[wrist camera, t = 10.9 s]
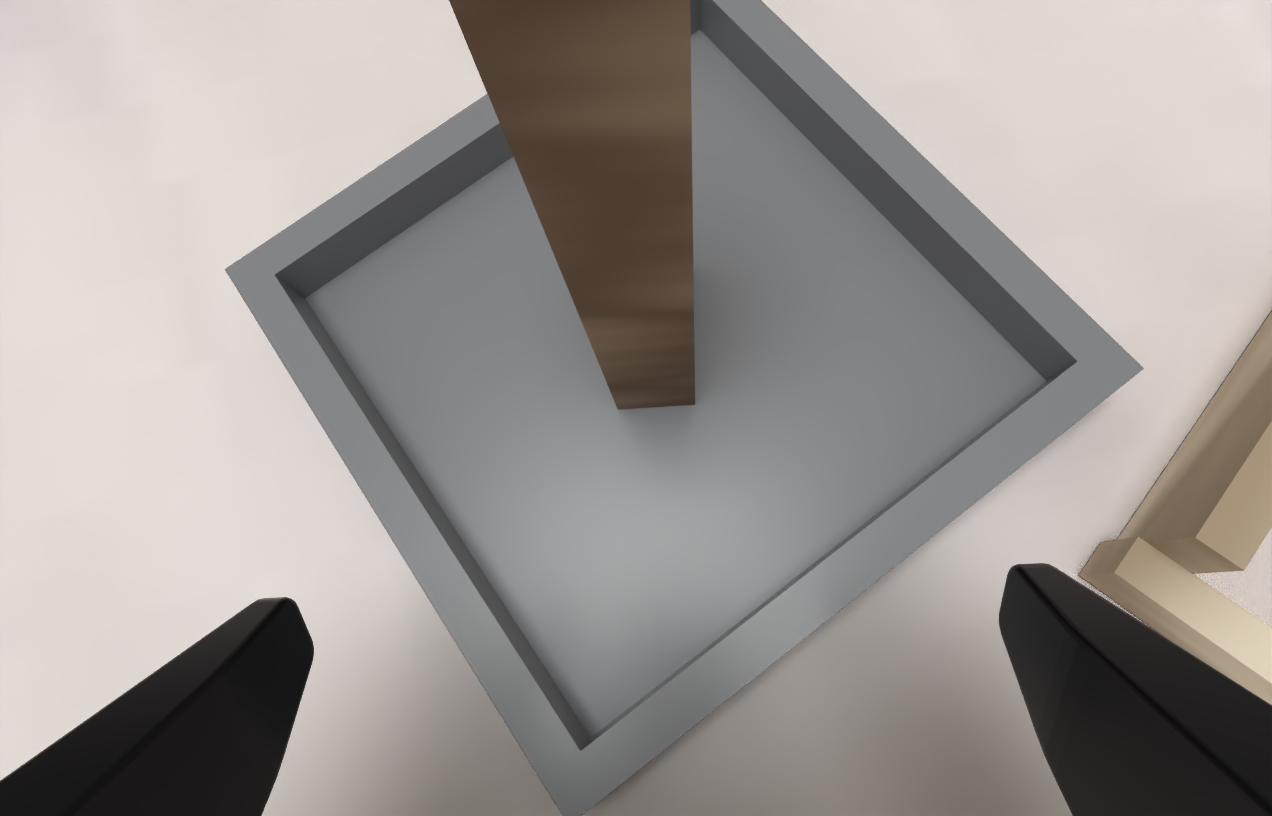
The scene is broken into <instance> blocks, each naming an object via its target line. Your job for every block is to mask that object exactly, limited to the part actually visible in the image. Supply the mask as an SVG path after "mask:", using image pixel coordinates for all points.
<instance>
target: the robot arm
mask: <svg viewBox="0 0 1272 816" xmlns="http://www.w3.org/2000/svg"><path fill="white" fill-rule="evenodd" d="M999 626H1000V631H1001V635H1002V638H1003V641H1004V643H1005V646H1006V649H1007V652H1008V655H1009V658H1010V660H1011V663H1012V666H1013V669H1014V672H1015V675H1016V677H1017V680H1018V683H1019V686H1020V689H1021V692H1022V694H1023V697H1024V700H1025V703H1026V706H1027V709H1028V712H1029V714H1030V717H1031V720H1032V723H1033V726H1034V729H1035V731H1036V734H1037V737H1038V739H1039V742H1040V745H1041V747H1042V750H1043V753H1044V755H1045V757H1046V760H1047V762H1048V764H1049V766H1050V768H1051V771H1052V773H1053V775H1054V777H1055V779H1056V781H1057V784H1058V786H1059V788H1060V790H1061V792H1062V794H1063V796H1064V798H1065V800H1066V802H1067V805H1068V807H1069V809H1070V811H1071V813H1072V815H1073V816H1272V705H1271V704H1270V703H1268V702H1266V701H1265V700H1263V699H1262V698H1260V697H1258V696H1257V695H1255V694H1254V693H1252V692H1251V691H1249V690H1247V689H1246V688H1244V687H1243V686H1241V685H1240V684H1238V683H1236V682H1235V681H1233V680H1232V679H1230V678H1229V677H1227V676H1225V675H1224V674H1222V673H1221V672H1219V671H1217V670H1216V669H1214V668H1213V667H1211V666H1210V665H1208V664H1206V663H1205V662H1203V661H1202V660H1200V659H1199V658H1197V657H1195V656H1194V655H1192V654H1191V653H1189V652H1188V651H1186V650H1184V649H1183V648H1181V647H1180V646H1178V645H1177V644H1175V643H1173V642H1172V641H1170V640H1169V639H1167V638H1165V637H1164V636H1162V635H1161V634H1159V633H1158V632H1156V631H1154V630H1153V629H1151V628H1150V627H1148V626H1147V625H1145V624H1143V623H1142V622H1140V621H1139V620H1137V619H1136V618H1134V617H1132V616H1131V615H1129V614H1128V613H1126V612H1125V611H1123V610H1121V609H1120V608H1118V607H1117V606H1115V605H1113V604H1112V603H1110V602H1109V601H1107V600H1106V599H1104V598H1102V597H1101V596H1099V595H1098V594H1096V593H1095V592H1093V591H1091V590H1090V589H1088V588H1087V587H1085V586H1084V585H1082V584H1080V583H1079V582H1077V581H1076V580H1074V579H1073V578H1071V577H1069V576H1068V575H1066V574H1065V573H1063V572H1061V571H1060V570H1058V569H1057V568H1055V567H1053V566H1051V565H1049V564H1044V563H1038V564H1018V565H1015V566H1013V567H1011V569H1010V570H1009V572H1008V575H1007V579H1006V584H1005V588H1004V593H1003V598H1002V602H1001V607H1000V612H999ZM313 655H314V646H313V641H312V638H311V636H310V634H309V631H308V629H307V627H306V624H305V622H304V620H303V617H302V615H301V613H300V610H299V608H298V606H297V604H296V602H295V601H293V600H292V599H291V598H287V597H281V598H263V599H259V600H257V601H255V602H253V603H252V604H250V605H249V606H248V607H246V608H245V609H243V610H242V611H240V612H239V613H238V614H236V615H235V616H233V617H232V618H231V619H229V620H228V621H226V622H225V623H223V624H222V625H221V626H219V627H218V628H216V629H215V630H214V631H212V632H211V633H209V634H208V635H206V636H205V637H204V638H202V639H201V640H199V641H198V642H197V643H195V644H194V645H192V646H191V647H189V648H188V649H187V650H185V651H184V652H182V653H181V654H179V655H178V656H177V657H175V658H174V659H172V660H171V661H170V662H168V663H167V664H165V665H164V666H162V667H161V668H160V669H158V670H157V671H155V672H154V673H153V674H151V675H150V676H148V677H147V678H145V679H144V680H143V681H141V682H140V683H138V684H137V685H135V686H134V687H133V688H131V689H130V690H128V691H127V692H126V693H124V694H123V695H121V696H120V697H118V698H117V699H116V700H114V701H113V702H111V703H110V704H108V705H107V706H106V707H104V708H103V709H101V710H100V711H99V712H97V713H96V714H94V715H93V716H91V717H90V718H89V719H87V720H86V721H84V722H83V723H82V724H80V725H79V726H77V727H76V728H74V729H73V730H72V731H70V732H69V733H67V734H66V735H64V736H63V737H62V738H60V739H59V740H57V741H56V742H55V743H53V744H52V745H50V746H49V747H47V748H46V749H45V750H43V751H42V752H40V753H39V754H38V755H36V756H35V757H33V758H32V759H30V760H29V761H28V762H26V763H25V764H23V765H22V766H20V767H19V768H18V769H16V770H15V771H13V772H12V773H11V774H9V775H8V776H6V777H5V778H3V779H2V780H1V781H0V816H261V815H262V813H263V810H264V808H265V805H266V803H267V801H268V798H269V796H270V793H271V791H272V788H273V785H274V783H275V780H276V778H277V775H278V772H279V769H280V766H281V763H282V760H283V757H284V754H285V751H286V748H287V744H288V741H289V738H290V734H291V731H292V728H293V724H294V721H295V718H296V714H297V711H298V708H299V705H300V701H301V698H302V695H303V691H304V688H305V685H306V681H307V678H308V675H309V671H310V668H311V665H312V661H313Z"/></svg>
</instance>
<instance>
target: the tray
mask: <svg viewBox="0 0 1272 816" xmlns="http://www.w3.org/2000/svg"><path fill="white" fill-rule="evenodd" d="M690 33H691V111H692V190H693V269H694V348H695V405H684V406H668V407H652V408H636V409H620V410H618V409H617V407H616V404H615V402H614V399H613V397H612V394H611V392H610V390H609V387H608V385H607V382H606V380H605V377H604V375H603V373H602V370H601V368H600V365H599V363H598V360H597V358H596V356H595V353H594V351H593V348H592V346H591V343H590V341H589V339H588V336H587V334H586V331H585V329H584V326H583V324H582V322H581V319H580V317H579V314H578V312H577V309H576V307H575V305H574V302H573V300H572V297H571V295H570V292H569V290H568V288H567V285H566V283H565V280H564V278H563V275H562V273H561V271H560V268H559V266H558V263H557V261H556V258H555V256H554V254H553V251H552V249H551V246H550V244H549V241H548V239H547V237H546V234H545V232H544V229H543V227H542V224H541V222H540V220H539V217H538V215H537V212H536V210H535V207H534V205H533V203H532V200H531V198H530V195H529V193H528V190H527V188H526V186H525V183H524V181H523V178H522V176H521V173H520V171H519V169H518V166H517V164H516V161H515V159H514V156H513V154H512V152H511V149H510V147H509V144H508V142H507V139H506V137H505V135H504V132H503V130H502V127H501V125H500V122H499V120H498V118H497V115H496V113H495V110H494V108H493V105H492V103H491V101H490V98H489V96H488V94H486V95H485V96H483V97H482V98H480V99H479V100H477V101H476V102H474V103H473V104H471V105H470V106H468V107H467V108H465V109H464V110H462V111H461V112H459V113H458V114H456V115H455V116H453V117H452V118H450V119H449V120H447V121H446V122H444V123H443V124H441V125H440V126H439V127H437V128H436V129H434V130H433V131H431V132H430V133H428V134H427V135H425V136H424V137H422V138H421V139H419V140H418V141H416V142H415V143H413V144H412V145H410V146H409V147H407V148H406V149H404V150H403V151H401V152H400V153H398V154H397V155H395V156H394V157H392V158H391V159H389V160H388V161H386V162H385V163H383V164H382V165H380V166H379V167H377V168H376V169H374V170H373V171H371V172H370V173H368V174H367V175H365V176H364V177H362V178H361V179H359V180H358V181H356V182H355V183H353V184H352V185H350V186H349V187H347V188H346V189H344V190H343V191H341V192H340V193H338V194H337V195H335V196H334V197H332V198H331V199H329V200H328V201H326V202H325V203H323V204H322V205H320V206H319V207H317V208H316V209H314V210H313V211H311V212H310V213H308V214H307V215H305V216H304V217H302V218H301V219H299V220H298V221H296V222H295V223H293V224H292V225H290V226H289V227H287V228H286V229H284V230H283V231H281V232H280V233H278V234H277V235H275V236H274V237H272V238H271V239H269V240H268V241H266V242H265V243H263V244H262V245H260V246H259V247H257V248H256V249H254V250H253V251H251V252H250V253H248V254H247V255H245V256H244V257H242V258H241V259H239V260H238V261H236V262H235V263H233V264H232V265H230V266H229V267H227V268H226V269H225V271H226V272H227V274H228V275H229V277H230V279H231V280H232V282H233V283H234V285H235V287H236V288H237V290H238V292H239V293H240V295H241V296H242V298H243V300H244V301H245V303H246V304H247V306H248V308H249V309H250V311H251V313H252V314H253V316H254V317H255V319H256V321H257V322H258V324H259V325H260V327H261V329H262V330H263V332H264V334H265V335H266V337H267V338H268V340H269V342H270V343H271V345H272V347H273V348H274V350H275V351H276V353H277V355H278V356H279V358H280V359H281V361H282V363H283V364H284V366H285V368H286V369H287V371H288V372H289V374H290V376H291V377H292V379H293V380H294V382H295V384H296V385H297V387H298V389H299V390H300V392H301V393H302V395H303V397H304V398H305V400H306V402H307V403H308V405H309V406H310V408H311V410H312V411H313V413H314V414H315V416H316V418H317V419H318V421H319V423H320V424H321V426H322V427H323V429H324V431H325V432H326V434H327V435H328V437H329V439H330V440H331V442H332V444H333V445H334V447H335V448H336V450H337V452H338V453H339V455H340V456H341V458H342V460H343V461H344V463H345V465H346V466H347V468H348V469H349V471H350V473H351V474H352V476H353V478H354V479H355V481H356V482H357V484H358V486H359V487H360V489H361V490H362V492H363V494H364V495H365V497H366V499H367V500H368V502H369V503H370V505H371V507H372V508H373V510H374V511H375V513H376V515H377V516H378V518H379V520H380V521H381V523H382V524H383V526H384V528H385V529H386V531H387V533H388V534H389V536H390V537H391V539H392V541H393V542H394V544H395V545H396V547H397V549H398V550H399V552H400V554H401V555H402V557H403V558H404V560H405V562H406V563H407V565H408V566H409V568H410V570H411V571H412V573H413V575H414V576H415V578H416V579H417V581H418V583H419V584H420V586H421V587H422V589H423V591H424V592H425V594H426V596H427V597H428V599H429V600H430V602H431V604H432V605H433V607H434V609H435V610H436V612H437V613H438V615H439V617H440V618H441V620H442V621H443V623H444V625H445V626H446V628H447V630H448V631H449V633H450V634H451V636H452V638H453V639H454V641H455V642H456V644H457V646H458V647H459V649H460V651H461V652H462V654H463V655H464V657H465V659H466V660H467V662H468V663H469V665H470V667H471V668H472V670H473V672H474V673H475V675H476V676H477V678H478V680H479V681H480V683H481V685H482V686H483V688H484V689H485V691H486V693H487V694H488V696H489V697H490V699H491V701H492V702H493V704H494V706H495V707H496V709H497V710H498V712H499V714H500V715H501V717H502V718H503V720H504V722H505V723H506V725H507V727H508V728H509V730H510V731H511V733H512V735H513V736H514V738H515V740H516V741H517V743H518V744H519V746H520V748H521V749H522V751H523V752H524V754H525V756H526V757H527V759H528V761H529V762H530V764H531V765H532V767H533V769H534V770H535V772H536V773H537V775H538V777H539V778H540V780H541V782H542V783H543V785H544V786H545V788H546V790H547V791H548V793H549V794H550V796H551V798H552V799H553V801H554V803H555V804H556V806H557V807H558V809H559V811H560V812H561V814H562V816H582V815H583V814H584V813H586V812H587V811H588V810H589V809H591V808H592V807H593V806H594V805H596V804H597V803H598V802H599V801H601V800H602V799H603V798H604V797H606V796H607V795H608V794H609V793H611V792H612V791H613V790H615V789H616V788H617V787H618V786H620V785H621V784H622V783H623V782H625V781H626V780H627V779H628V778H630V777H631V776H632V775H633V774H635V773H636V772H637V771H638V770H640V769H641V768H642V767H643V766H645V765H646V764H647V763H648V762H650V761H651V760H652V759H654V758H655V757H656V756H657V755H659V754H660V753H661V752H662V751H664V750H665V749H666V748H667V747H669V746H670V745H671V744H672V743H674V742H675V741H676V740H677V739H679V738H680V737H681V736H682V735H684V734H685V733H686V732H687V731H689V730H690V729H691V728H693V727H694V726H695V725H696V724H698V723H699V722H700V721H701V720H703V719H704V718H705V717H706V716H708V715H709V714H710V713H711V712H713V711H714V710H715V709H716V708H718V707H719V706H720V705H721V704H723V703H724V702H725V701H726V700H728V699H729V698H730V697H731V696H733V695H734V694H735V693H737V692H738V691H739V690H740V689H742V688H743V687H744V686H745V685H747V684H748V683H749V682H750V681H752V680H753V679H754V678H755V677H757V676H758V675H759V674H760V673H762V672H763V671H764V670H765V669H767V668H768V667H769V666H770V665H772V664H773V663H774V662H776V661H777V660H778V659H779V658H781V657H782V656H783V655H784V654H786V653H787V652H788V651H789V650H791V649H792V648H793V647H794V646H796V645H797V644H798V643H799V642H801V641H802V640H803V639H804V638H806V637H807V636H808V635H809V634H811V633H812V632H813V631H815V630H816V629H817V628H818V627H820V626H821V625H822V624H823V623H825V622H826V621H827V620H828V619H830V618H831V617H832V616H833V615H835V614H836V613H837V612H838V611H840V610H841V609H842V608H843V607H845V606H846V605H847V604H848V603H850V602H851V601H852V600H854V599H855V598H856V597H857V596H859V595H860V594H861V593H862V592H864V591H865V590H866V589H867V588H869V587H870V586H871V585H872V584H874V583H875V582H876V581H877V580H879V579H880V578H881V577H882V576H884V575H885V574H886V573H887V572H889V571H890V570H891V569H893V568H894V567H895V566H896V565H898V564H899V563H900V562H901V561H903V560H904V559H905V558H906V557H908V556H909V555H910V554H911V553H913V552H914V551H915V550H916V549H918V548H919V547H920V546H921V545H923V544H924V543H925V542H926V541H928V540H929V539H930V538H931V537H933V536H934V535H935V534H937V533H938V532H939V531H940V530H942V529H943V528H944V527H945V526H947V525H948V524H949V523H950V522H952V521H953V520H954V519H955V518H957V517H958V516H959V515H960V514H962V513H963V512H964V511H965V510H967V509H968V508H969V507H970V506H972V505H973V504H974V503H976V502H977V501H978V500H979V499H981V498H982V497H983V496H984V495H986V494H987V493H988V492H989V491H991V490H992V489H993V488H994V487H996V486H997V485H998V484H999V483H1001V482H1002V481H1003V480H1004V479H1006V478H1007V477H1008V476H1009V475H1011V474H1012V473H1013V472H1015V471H1016V470H1017V469H1018V468H1020V467H1021V466H1022V465H1023V464H1025V463H1026V462H1027V461H1028V460H1030V459H1031V458H1032V457H1033V456H1035V455H1036V454H1037V453H1038V452H1040V451H1041V450H1042V449H1043V448H1045V447H1046V446H1047V445H1048V444H1050V443H1051V442H1052V441H1054V440H1055V439H1056V438H1057V437H1059V436H1060V435H1061V434H1062V433H1064V432H1065V431H1066V430H1067V429H1069V428H1070V427H1071V426H1072V425H1074V424H1075V423H1076V422H1077V421H1079V420H1080V419H1081V418H1082V417H1084V416H1085V415H1086V414H1087V413H1089V412H1090V411H1091V410H1093V409H1094V408H1095V407H1096V406H1098V405H1099V404H1100V403H1101V402H1103V401H1104V400H1105V399H1106V398H1108V397H1109V396H1110V395H1111V394H1113V393H1114V392H1115V391H1116V390H1118V389H1119V388H1120V387H1121V386H1123V385H1124V384H1125V383H1126V382H1128V381H1129V380H1130V379H1131V378H1133V377H1134V376H1135V375H1137V374H1138V373H1139V372H1140V371H1142V370H1143V369H1144V368H1143V367H1142V366H1141V365H1140V364H1139V363H1138V362H1137V361H1136V360H1135V359H1134V358H1133V357H1131V356H1130V355H1129V354H1128V353H1127V352H1126V351H1125V350H1124V349H1123V348H1122V347H1121V346H1120V345H1119V344H1118V343H1117V342H1116V341H1115V340H1114V339H1113V338H1112V337H1111V336H1110V335H1109V334H1108V333H1107V332H1105V331H1104V330H1103V329H1102V328H1101V327H1100V326H1099V325H1098V324H1097V323H1096V322H1095V321H1094V320H1093V319H1092V318H1091V317H1090V316H1089V315H1088V314H1087V313H1086V312H1085V311H1084V310H1083V309H1082V308H1081V307H1079V306H1078V305H1077V304H1076V303H1075V302H1074V301H1073V300H1072V299H1071V298H1070V297H1069V296H1068V295H1067V294H1066V293H1065V292H1064V291H1063V290H1062V289H1061V288H1060V287H1059V286H1058V285H1057V284H1056V283H1055V282H1053V281H1052V280H1051V279H1050V278H1049V277H1048V276H1047V275H1046V274H1045V273H1044V272H1043V271H1042V270H1041V269H1040V268H1039V267H1038V266H1037V265H1036V264H1035V263H1034V262H1033V261H1032V260H1031V259H1030V258H1029V257H1027V256H1026V255H1025V254H1024V253H1023V252H1022V251H1021V250H1020V249H1019V248H1018V247H1017V246H1016V245H1015V244H1014V243H1013V242H1012V241H1011V240H1010V239H1009V238H1008V237H1007V236H1006V235H1005V234H1004V233H1003V232H1001V231H1000V230H999V229H998V228H997V227H996V226H995V225H994V224H993V223H992V222H991V221H990V220H989V219H988V218H987V217H986V216H985V215H984V214H983V213H982V212H981V211H980V210H979V209H978V208H977V207H975V206H974V205H973V204H972V203H971V202H970V201H969V200H968V199H967V198H966V197H965V196H964V195H963V194H962V193H961V192H960V191H959V190H958V189H957V188H956V187H955V186H954V185H953V184H952V183H950V182H949V181H948V180H947V179H946V178H945V177H944V176H943V175H942V174H941V173H940V172H939V171H938V170H937V169H936V168H935V167H934V166H933V165H932V164H931V163H930V162H929V161H928V160H927V159H926V158H924V157H923V156H922V155H921V154H920V153H919V152H918V151H917V150H916V149H915V148H914V147H913V146H912V145H911V144H910V143H909V142H908V141H907V140H906V139H905V138H904V137H903V136H902V135H901V134H900V133H898V132H897V131H896V130H895V129H894V128H893V127H892V126H891V125H890V124H889V123H888V122H887V121H886V120H885V119H884V118H883V117H882V116H881V115H880V114H879V113H878V112H877V111H876V110H875V109H874V108H872V107H871V106H870V105H869V104H868V103H867V102H866V101H865V100H864V99H863V98H862V97H861V96H860V95H859V94H858V93H857V92H856V91H855V90H854V89H853V88H852V87H851V86H850V85H849V84H848V83H846V82H845V81H844V80H843V79H842V78H841V77H840V76H839V75H838V74H837V73H836V72H835V71H834V70H833V69H832V68H831V67H830V66H829V65H828V64H827V63H826V62H825V61H824V60H823V59H822V58H820V57H819V56H818V55H817V54H816V53H815V52H814V51H813V50H812V49H811V48H810V47H809V46H808V45H807V44H806V43H805V42H804V41H803V40H802V39H801V38H800V37H799V36H798V35H797V34H796V33H794V32H793V31H792V30H791V29H790V28H789V27H788V26H787V25H786V24H785V23H784V22H783V21H782V20H781V19H780V18H779V17H778V16H777V15H776V14H775V13H774V12H773V11H772V10H771V9H769V8H768V7H767V6H766V5H765V4H764V3H763V2H762V1H761V0H690Z"/></svg>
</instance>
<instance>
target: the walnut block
mask: <svg viewBox="0 0 1272 816" xmlns="http://www.w3.org/2000/svg"><path fill="white" fill-rule="evenodd" d="M449 1H450V3H451V6H452V8H453V11H454V13H455V16H456V18H457V20H458V23H459V25H460V28H461V30H462V33H463V35H464V37H465V40H466V42H467V45H468V47H469V50H470V52H471V54H472V57H473V59H474V62H475V64H476V67H477V69H478V71H479V74H480V76H481V79H482V81H483V84H484V86H485V88H486V91H487V93H488V96H489V98H490V101H491V103H492V105H493V108H494V110H495V113H496V115H497V118H498V120H499V122H500V125H501V127H502V130H503V132H504V135H505V137H506V139H507V142H508V144H509V147H510V149H511V152H512V154H513V156H514V159H515V161H516V164H517V166H518V169H519V171H520V173H521V176H522V178H523V181H524V183H525V186H526V188H527V190H528V193H529V195H530V198H531V200H532V203H533V205H534V207H535V210H536V212H537V215H538V217H539V220H540V222H541V224H542V227H543V229H544V232H545V234H546V237H547V239H548V241H549V244H550V246H551V249H552V251H553V254H554V256H555V258H556V261H557V263H558V266H559V268H560V271H561V273H562V275H563V278H564V280H565V283H566V285H567V288H568V290H569V292H570V295H571V297H572V300H573V302H574V305H575V307H576V309H577V312H578V314H579V317H580V319H581V322H582V324H583V326H584V329H585V331H586V334H587V336H588V339H589V341H590V343H591V346H592V348H593V351H594V353H595V356H596V358H597V360H598V363H599V365H600V368H601V370H602V373H603V375H604V377H605V380H606V382H607V385H608V387H609V390H610V392H611V394H612V397H613V399H614V402H615V404H616V407H617V409H618V410H620V409H636V408H652V407H668V406H684V405H695V348H694V269H693V190H692V111H691V33H690V0H449Z"/></svg>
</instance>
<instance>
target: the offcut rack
mask: <svg viewBox="0 0 1272 816" xmlns="http://www.w3.org/2000/svg"><path fill="white" fill-rule="evenodd" d="M1271 527H1272V311H1271V313H1270V314H1269V316H1268V317H1267V319H1266V320H1265V322H1264V323H1263V324H1262V326H1261V327H1260V329H1259V330H1258V332H1257V333H1256V335H1255V336H1254V338H1253V339H1252V341H1251V342H1250V344H1249V345H1248V347H1247V348H1246V350H1245V351H1244V353H1243V354H1242V356H1241V357H1240V358H1239V360H1238V361H1237V363H1236V364H1235V366H1234V367H1233V369H1232V370H1231V372H1230V373H1229V375H1228V376H1227V378H1226V379H1225V381H1224V382H1223V384H1222V385H1221V387H1220V388H1219V390H1218V391H1217V392H1216V394H1215V395H1214V397H1213V398H1212V400H1211V401H1210V403H1209V404H1208V406H1207V407H1206V409H1205V410H1204V412H1203V413H1202V415H1201V416H1200V418H1199V419H1198V421H1197V422H1196V424H1195V425H1194V426H1193V428H1192V429H1191V431H1190V432H1189V434H1188V435H1187V437H1186V438H1185V440H1184V441H1183V443H1182V444H1181V446H1180V447H1179V449H1178V450H1177V452H1176V453H1175V455H1174V456H1173V458H1172V459H1171V460H1170V462H1169V463H1168V465H1167V466H1166V468H1165V469H1164V471H1163V472H1162V474H1161V475H1160V477H1159V478H1158V480H1157V481H1156V483H1155V484H1154V486H1153V487H1152V489H1151V490H1150V492H1149V493H1148V494H1147V496H1146V497H1145V499H1144V500H1143V502H1142V503H1141V505H1140V506H1139V508H1138V509H1137V511H1136V512H1135V514H1134V515H1133V517H1132V518H1131V520H1130V521H1129V523H1128V524H1127V526H1126V527H1125V528H1124V530H1123V531H1122V533H1121V534H1120V536H1119V537H1118V539H1117V540H1112V541H1105V542H1101V543H1100V544H1099V546H1098V547H1097V549H1096V550H1095V552H1094V553H1093V555H1092V556H1091V558H1090V559H1089V561H1088V562H1087V564H1086V565H1085V566H1084V568H1083V569H1082V571H1081V572H1080V574H1079V576H1080V577H1082V578H1083V579H1084V580H1086V581H1087V582H1089V583H1090V584H1091V585H1093V586H1094V587H1096V588H1097V589H1098V590H1100V591H1101V592H1103V593H1104V594H1105V595H1107V596H1108V597H1110V598H1111V599H1112V600H1114V601H1115V602H1117V603H1118V604H1119V605H1121V606H1122V607H1124V608H1125V609H1126V610H1128V611H1129V612H1131V613H1132V614H1133V615H1135V616H1136V617H1138V618H1139V619H1140V620H1142V621H1143V622H1145V623H1146V624H1147V625H1149V626H1150V627H1152V628H1153V629H1154V630H1156V631H1157V632H1158V633H1160V634H1161V635H1163V636H1164V637H1165V638H1167V639H1169V640H1170V641H1172V642H1173V643H1175V644H1177V645H1178V646H1180V647H1181V648H1183V649H1184V650H1186V651H1188V652H1189V653H1191V654H1192V655H1194V656H1195V657H1197V658H1199V659H1200V660H1202V661H1203V662H1205V663H1206V664H1208V665H1210V666H1211V667H1213V668H1214V669H1216V670H1217V671H1219V672H1221V673H1222V674H1224V675H1225V676H1227V677H1229V678H1230V679H1232V680H1233V681H1235V682H1236V683H1238V684H1240V685H1241V686H1243V687H1244V688H1246V689H1247V690H1249V691H1251V692H1252V693H1254V694H1255V695H1257V696H1258V697H1260V698H1262V699H1263V700H1265V701H1266V702H1268V703H1270V704H1271V705H1272V628H1271V627H1270V626H1268V625H1267V624H1265V623H1264V622H1262V621H1261V620H1259V619H1258V618H1256V617H1255V616H1254V615H1252V614H1251V613H1249V612H1248V611H1246V610H1245V609H1243V608H1242V607H1240V606H1239V605H1238V604H1236V603H1235V602H1233V601H1232V600H1230V599H1229V598H1227V597H1226V596H1224V595H1223V594H1221V593H1220V592H1219V591H1217V590H1216V589H1214V588H1213V587H1211V586H1210V585H1208V584H1207V583H1205V582H1204V581H1203V580H1201V579H1200V578H1198V577H1197V576H1195V575H1194V573H1211V572H1227V571H1243V570H1245V568H1246V567H1247V565H1248V563H1249V562H1250V560H1251V559H1252V557H1253V556H1254V554H1255V552H1256V551H1257V549H1258V548H1259V546H1260V545H1261V543H1262V541H1263V540H1264V538H1265V537H1266V535H1267V534H1268V532H1269V530H1270V529H1271Z"/></svg>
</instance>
